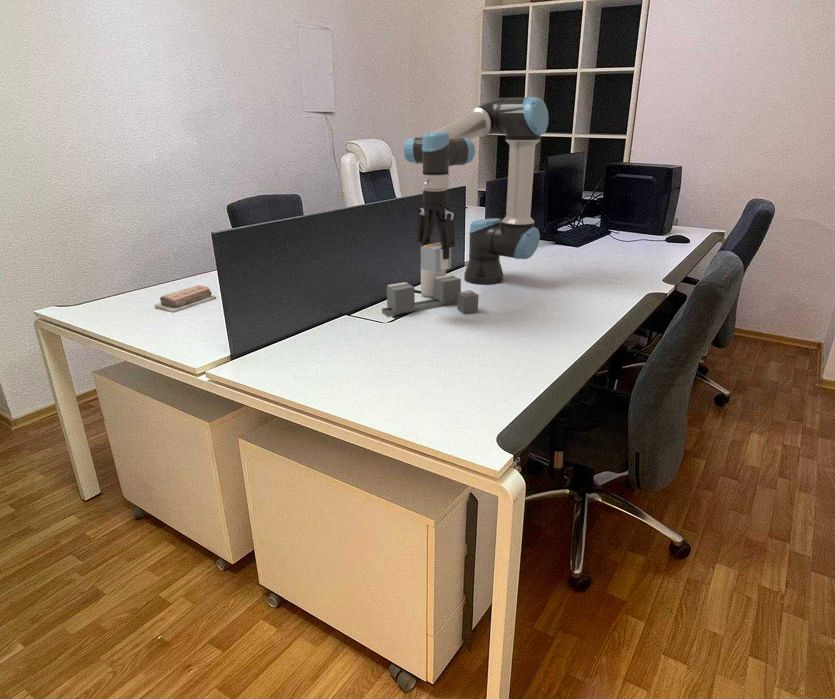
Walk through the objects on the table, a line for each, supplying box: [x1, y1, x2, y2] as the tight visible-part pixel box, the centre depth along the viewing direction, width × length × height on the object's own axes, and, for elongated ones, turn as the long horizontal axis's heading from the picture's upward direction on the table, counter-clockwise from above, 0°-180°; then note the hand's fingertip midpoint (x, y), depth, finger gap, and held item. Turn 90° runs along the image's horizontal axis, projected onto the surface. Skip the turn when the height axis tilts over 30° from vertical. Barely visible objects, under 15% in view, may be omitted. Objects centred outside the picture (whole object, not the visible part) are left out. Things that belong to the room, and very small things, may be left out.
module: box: [420, 242, 452, 273], centre depth 170 cm, size 7×6×7 cm
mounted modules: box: [386, 274, 462, 311], centre depth 187 cm, size 25×6×7 cm, turn 120°
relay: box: [457, 289, 479, 315], centre depth 183 cm, size 5×5×7 cm
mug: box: [420, 268, 447, 299], centre depth 200 cm, size 12×9×11 cm
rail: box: [381, 298, 458, 317], centre depth 188 cm, size 30×4×2 cm, turn 120°
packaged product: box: [153, 285, 217, 313], centre depth 195 cm, size 18×5×10 cm
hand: (435, 267), depth 171 cm, fingers closed on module, 6 cm apart
